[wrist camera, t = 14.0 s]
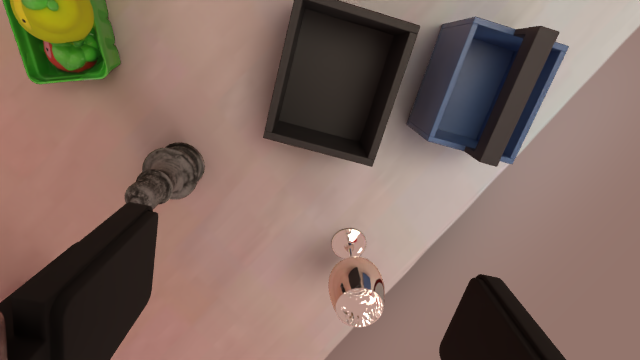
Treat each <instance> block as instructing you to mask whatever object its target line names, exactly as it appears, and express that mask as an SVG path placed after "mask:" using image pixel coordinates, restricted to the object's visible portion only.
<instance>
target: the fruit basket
mask: <svg viewBox="0 0 640 360" xmlns="http://www.w3.org/2000/svg"><path fill="white" fill-rule="evenodd" d="M2 1H3V4H4V7H5V10H6V13H7V16H8V18H9V22H10V25H11V28H12V31H13V33H14V37H15V40H16V42H17V45H18V48H19V51H20V55H21V57H22V60H23V64H24V67H25V70H26V73H27V75H28V77H29V79H30V80H31V81H32V82H34V83H36V84H47V83H57V82H68V81H82V80H99V79H103V78H105V77H106V76H107V75H108V74H109V72H110V71H111V70H113V69H114V68H116V67H117V66H118V65H120V63H121V62H120V58H119V54H118V50H117V48H116V46H115V45H114V44H115V38H114V34H113V30H112V26H111V23H110V22H109V20H108V10H107V6H106V2H105V0H2Z"/></svg>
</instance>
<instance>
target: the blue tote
mask: <svg viewBox="0 0 640 360" xmlns="http://www.w3.org/2000/svg"><path fill="white" fill-rule="evenodd" d="M558 34H559V32H558V31H555V30H552V29H549V28H546V27H543V26H536V27H529V28H523V29H513V28H510V27H507V26H503V25H500V24H497V23H494V22H491V21H488V20H485V19H481V18H478V17H472V18H468V19H464V20H459V21H455V22H450V23H446V24H443V25H442V27H441V30H440V33H439V35H438V38H437V41H436V44H435V47H434V49H433V52H432V55H431V58H430V60H429V63H428V66H427V69H426V72H425V74H424V77H423V80H422V83H421V85H420V88H419V91H418V94H417V97H416V99H415V102H414V105H413V108H412V110H411V113H410V116H409V119H408V122H407V125H408V126H409V127H410V128H412V129H413V130H414V131H416V132H417V133H418V134H419V135H421V136H422V137H423V138H424V139H426V140H427V141H429V142H433V143H436V144H440V145H444V146H447V147H451V148H455V149H458V150H462V151H465V152H466V153H468V154H469V155H471V156H472V157H473V158H475V159H476V160H478V161H479V162H482V163H485V164H489V165H493V166H497V165H498V163H499V161H502V162H505V163H509V164H513V162H514V159H515V158H516V156H517V154H518V152H519V149H520V147H521V145H522V143H523V141H524V139H525V137H526V135H527V133H528V131H529V129H530V127H531V124H532V122H533V120H534V118H535V116H536V114H537V112H538V110H539V108H540V106H541V104H542V102H543V99H544V97H545V95H546V93H547V91H548V89H549V87H550V85H551V83H552V81H553V79H554V77H555V75H556V72H557V70H558V68H559V66H560V64H561V62H562V60H563V58H564V56H565V54H566V52H567V50H568V47H569V46H566V45H563V44H560V43H557V42H555V41H556V39H557V37H558Z"/></svg>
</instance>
